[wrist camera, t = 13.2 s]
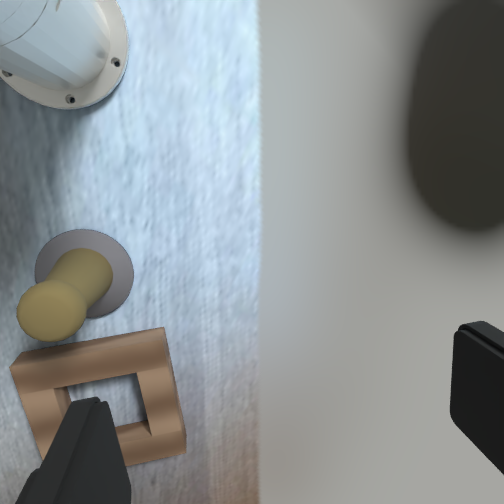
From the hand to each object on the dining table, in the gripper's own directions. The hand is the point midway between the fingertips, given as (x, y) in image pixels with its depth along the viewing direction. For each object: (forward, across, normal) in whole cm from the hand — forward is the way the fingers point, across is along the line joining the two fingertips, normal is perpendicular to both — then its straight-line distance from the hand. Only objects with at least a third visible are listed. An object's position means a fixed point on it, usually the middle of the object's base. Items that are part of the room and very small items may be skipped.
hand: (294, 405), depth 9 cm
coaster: (+32, +15, +5) cm, 36 cm away
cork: (+32, +15, +5) cm, 36 cm away
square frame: (+32, +16, +21) cm, 42 cm away
